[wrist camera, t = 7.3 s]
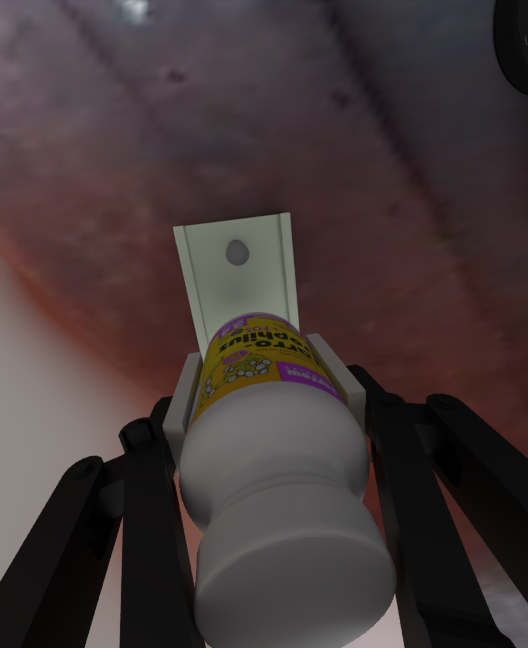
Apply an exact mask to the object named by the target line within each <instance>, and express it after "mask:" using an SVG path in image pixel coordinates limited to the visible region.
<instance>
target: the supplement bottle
mask: <svg viewBox="0 0 528 648" xmlns="http://www.w3.org/2000/svg"><path fill="white" fill-rule="evenodd" d="M369 467H370V465H369V453H368V447H367V444H366V441H365V438H364V435H363V433H362V430H361V428H360V426H359V425H358V423H357V421H356V420H355V418H354V416H353V415H352V413H351V411H350V410H349V408H348V407H347V405H346V404H345V402H344V401H343V399H342V398H341V396H340V395H339V393H338V392H337V390H336V389H335V387H334V385H333V384H332V382H331V381H330V379H329V378H328V376H327V375H326V373H325V371H324V370H323V368H322V367H321V365H320V364H319V362H318V361H317V359H316V358H315V356H314V354H313V353H312V351H311V350H310V348H309V346H308V345H307V343H306V342H305V340H304V338H303V337H302V335H301V334H300V333H299V331H298V330H297V329H296V328H295V327H294V326H293V325H292V324H291V323H290V322H289V321H287V320H286V319H284V318H282V317H280V316H277V315H274V314H271V313H265V312H252V313H246V314H243V315H239V316H237V317H235V318H233V319H231V320H229V321H228V322H226V323H225V324H224V325H223V326H221V327H220V328H219V329H218V331H217V332H216V333H215V334H214V336H213V337H212V339H211V341H210V343H209V346H208V349H207V352H206V355H205V359H204V363H203V367H202V371H201V376H200V380H199V384H198V387H197V392H196V396H195V400H194V404H193V408H192V412H191V416H190V420H189V424H188V428H187V432H186V436H185V440H184V444H183V449H182V453H181V459H180V465H179V487H180V493H181V497H182V501H183V503H184V506H185V508H186V510H187V513H188V514H189V516H190V518H191V519H192V521H193V522H194V523H195V525H196V526H197V527H198V528H199V529H200V530H201V531H202V532H203V533H204V535H203V537H202V539H201V542H200V544H199V548H198V552H197V571H196V583H195V593H194V605H193V612H194V620H195V625H196V627H197V630H198V632H199V634H200V635H201V636H202V638H203V639H204V640H205V641H206V643H207V644H208V645H209V646H211V647H212V648H341V647H343V646H345V645H347V644H348V643H350V642H352V641H354V640H355V639H356V638H358V637H360V636H361V635H363V634H364V633H366V632H367V631H368V630H369V629H370V628H371V627H373V626H374V625H375V624H376V623H377V622H378V621H379V620H380V618H381V617H382V616H383V615H384V614H385V612H386V611H387V609H388V608H389V606H390V605H391V602H392V600H393V597H394V594H395V591H396V585H397V579H396V569H395V565H394V562H393V560H392V557H391V555H390V552H389V550H388V548H387V546H386V544H385V542H384V540H383V538H382V535H381V533H380V531H379V529H378V527H377V525H376V523H375V521H374V519H373V517H372V515H371V513H370V512H369V511H368V509H367V508H366V507H365V506H364V505H363V504H362V503H361V501H362V499H363V496H364V494H365V491H366V486H367V482H368V477H369Z"/></svg>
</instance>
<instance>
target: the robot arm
mask: <svg viewBox="0 0 528 648" xmlns="http://www.w3.org/2000/svg"><path fill="white" fill-rule="evenodd" d="M495 41H496V48H497V53H498V57H499V60H500V63H501V66H502V68H503V70H504V72H505V74H506V75H507V77H508V78H509V80H510V81H511V82H512V83H513V84H514V85H515V86H516V87H517V88H518V89H519V90H521V91H522V92H524V93H526V94H528V0H498V1H497V7H496V15H495ZM306 337H307V345H308V346H309V348H310V350H311V351H312V353H313V354H314V356H315V358H316V359H317V361H318V362H319V364H320V365H321V367H322V368H323V370H324V371H325V373H326V375H327V376H328V378H329V379H330V381H331V382H332V384H333V385H334V387H335V389H336V390H337V392H338V393H339V395H340V396H341V398H342V399H343V401H344V402H345V404H346V405H347V407H348V408H349V410H350V411H351V413H352V415H353V416H354V418H355V420H356V421H357V423H358V425H359V426H360V428H361V430H362V433H363V435H364V438H365V441H366V434H367V435H368V437H369V438H370V440H371V453H370V462H371V463H373V466H374V472H375V478H376V484H377V489H378V495H379V501H380V507H381V513H382V519H383V524H384V530H385V536H386V542H387V548H388V550H389V552H390V555H391V557H392V560H393V562H394V565H395V569H396V579H397V585H396V591H395V595H396V600H397V606H398V612H399V617H400V624H401V629H402V636H403V641H404V646H405V648H516V647H515V646H514V644H513V643H512V641H511V640H510V639H509V638H508V637H507V636H505V635H504V634H502V633H501V632H500V631H499V629H498V628H497V626H496V624H495V622H494V620H493V618H492V615H491V613H490V610H489V608H488V606H487V603H486V601H485V598H484V596H483V593H482V591H481V588H480V586H479V583H478V581H477V578H476V576H475V573H474V571H473V568H472V566H471V563H470V561H469V559H468V556H467V554H466V551H465V549H464V546H463V544H462V541H461V539H460V536H459V534H458V531H457V529H456V526H455V524H454V521H453V519H452V516H451V514H450V511H449V509H448V507H447V504H446V502H445V499H444V497H443V494H442V492H441V489H440V487H439V484H438V482H437V479H436V477H435V474H434V472H435V473H436V474H437V476H438V477H439V479H440V480H441V481H442V483H443V484H444V486H445V487H446V488H447V490H448V491H449V493H450V494H451V495H452V497H453V498H454V500H455V501H456V503H457V504H458V505H459V507H460V508H461V510H462V511H463V512H464V514H465V515H466V517H467V518H468V519H469V521H470V522H471V524H472V525H473V527H474V528H475V529H476V531H477V532H478V534H479V535H480V536H481V538H482V539H483V541H484V542H485V543H486V545H487V546H488V548H489V549H490V551H491V552H492V553H493V555H494V556H495V558H496V559H497V560H498V562H499V563H500V565H501V566H502V567H503V569H504V570H505V572H506V573H507V575H508V576H509V577H510V579H511V580H512V582H513V583H514V584H515V586H516V587H517V589H518V590H519V591H520V593H521V594H522V596H523V597H524V598H525V600H526V601H527V603H528V458H526V457H525V456H524V455H523V454H522V453H521V452H520V451H518V450H517V449H516V448H515V447H514V446H513V445H511V444H510V443H509V442H508V441H507V440H506V439H505V438H503V437H502V436H501V435H500V434H499V433H498V432H496V431H495V430H494V429H493V428H492V427H491V426H490V425H488V424H487V423H486V422H485V421H484V420H483V419H482V418H480V417H479V416H478V415H477V414H476V413H475V412H473V411H472V410H471V409H470V408H469V407H468V406H467V405H465V404H464V403H463V402H462V401H460V400H459V399H457V398H455V397H453V396H450V395H446V394H432V395H429V396H428V397H427V398H426V404H415V403H405V401H404V400H403V398H401V397H400V396H398V395H396V394H393V393H387V392H386V391H385V390H384V389H383V388H382V387H381V386H380V385H379V384H378V383H377V382H376V381H375V380H374V379H373V378H372V377H371V376H370V375H369V374H368V372H367V371H366V370H365V369H364V368H362V367H360V366H358V365H356V364H355V365H349V366H345V365H344V364H343V363H342V361H341V360H340V359H339V358H338V357H337V355H336V354H335V353H334V352H333V351H332V349H331V348H330V347H329V346H328V345H327V343H326V342H325V341H324V340H323V339H322V337H321V336H320V335H319V334H318V333H316V334H309V335H306ZM202 367H203V359H202V354H201V352H197V353H190V354H188V357H187V360H186V363H185V365H184V368H183V371H182V373H181V376H180V379H179V382H178V384H177V387H176V390H175V393H174V395H173V396H169V397H163V398H161V399H160V400H159V401H158V402H157V403H156V404H155V406H154V408H153V410H152V413H151V415H150V417H147V418H146V417H143V418H139V419H136V420H134V421H132V422H130V423H128V424H127V425H126V426H124V427H123V428H122V430H121V431H120V433H119V438H120V441H121V444H122V446H123V449H124V451H125V454H123V455H121V456H119V457H117V458H115V459H112V460H110V461H107V462H105V463H104V462H103V460H102V458H101V457H99V456H89V457H87V458H84V459H82V460H80V461H78V462H76V463H75V464H73V465H72V466H71V467H70V468H69V469H68V470H67V471H66V472H65V473H64V475H63V476H62V478H61V480H60V481H59V483H58V485H57V486H56V488H55V490H54V491H53V493H52V495H51V497H50V498H49V500H48V502H47V503H46V505H45V507H44V508H43V510H42V512H41V514H40V515H39V517H38V519H37V520H36V522H35V524H34V525H33V527H32V529H31V530H30V532H29V534H28V535H27V537H26V539H25V541H24V542H23V544H22V546H21V547H20V549H19V551H18V552H17V554H16V556H15V558H14V559H13V561H12V563H11V564H10V566H9V568H8V569H7V571H6V573H5V574H4V576H3V578H2V580H1V581H0V648H85V644H86V640H87V637H88V634H89V630H90V627H91V623H92V620H93V616H94V613H95V610H96V606H97V603H98V600H99V596H100V593H101V589H102V586H103V582H104V579H105V575H106V572H107V569H108V565H109V561H110V558H111V554H112V551H113V548H114V545H115V541H116V538H117V534H118V531H119V527H120V524H121V520H122V517H123V544H122V578H121V614H120V617H121V618H120V648H206V646H205V641H204V639H203V638H202V636H201V635H200V634H199V632H198V630H197V627H196V625H195V620H194V612H193V605H194V593H195V587H194V582H193V577H192V572H191V566H190V560H189V555H188V550H187V544H186V539H185V534H184V528H183V523H182V518H181V512H180V507H179V502H178V497H177V491H176V486H175V483H174V479H173V477H174V473H175V469H176V472H177V475H178V478H179V465H180V459H181V453H182V449H183V444H184V440H185V436H186V432H187V428H188V424H189V420H190V416H191V412H192V408H193V404H194V400H195V396H196V392H197V387H198V384H199V380H200V376H201V371H202ZM433 470H434V472H433Z"/></svg>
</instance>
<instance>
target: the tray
mask: <svg viewBox="0 0 528 648" xmlns="http://www.w3.org/2000/svg"><path fill="white" fill-rule="evenodd" d="M173 230H174V235H175V239H176V244H177V248H178V253H179V257H180V262H181V266H182V271H183V275H184V280H185V285H186V289H187V294H188V298H189V303H190V307H191V312H192V316H193V321H194V325H195V330H196V334H197V339H198V343H199V348H200V352H201V354H202V359H203V363H204V359H205V355H206V352H207V349H208V346H209V343H210V341H211V339H212V337H213V336H214V334H215V333H216V332H217V331H218V329H219V328H220V327H221V326H223V325H224V324H225V323H226V322H228V321H229V320H231V319H233V318H235V317H237V316H239V315H243V314H246V313H252V312H265V313H271V314H274V315H277V316H280V317H282V318H284V319H286V320H287V321H289V322H290V323H291V324H292V325H293V326H294V327H295V328H296V329H297V330H298V331H299V321H298V308H297V296H296V283H295V271H294V259H293V246H292V234H291V221H290V212H289V213H281V214H277V215H269V216H261V217H253V218H245V219H237V220H229V221H221V222H213V223H205V224H197V225H189V226H176V227H173Z"/></svg>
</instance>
